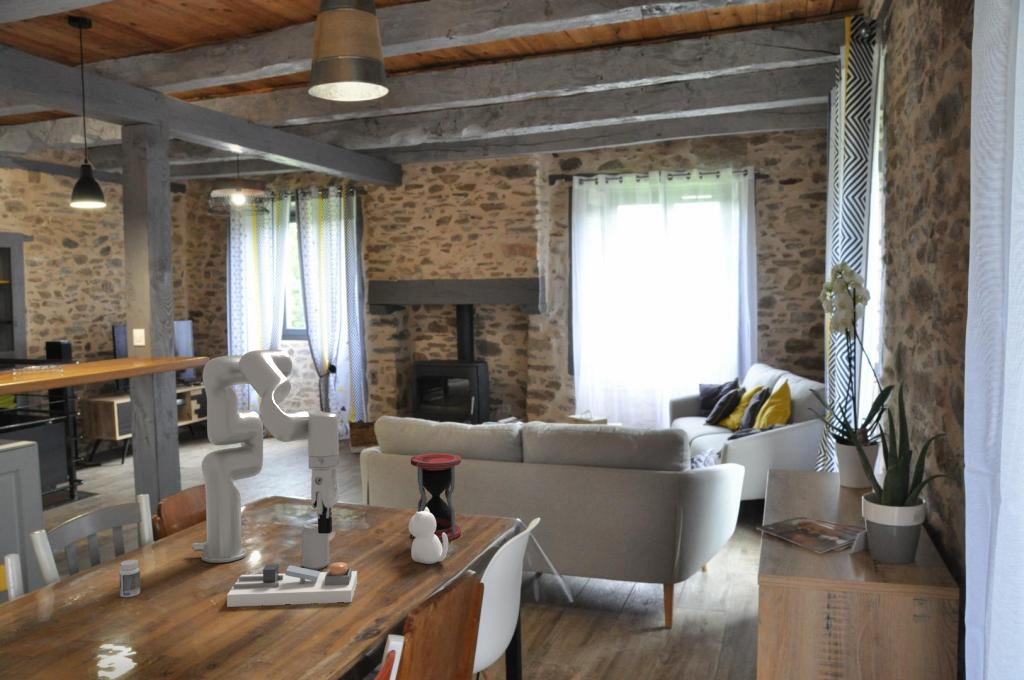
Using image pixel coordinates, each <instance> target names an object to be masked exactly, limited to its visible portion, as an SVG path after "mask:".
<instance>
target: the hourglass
mask: <svg viewBox="0 0 1024 680" xmlns="http://www.w3.org/2000/svg"><path fill="white" fill-rule="evenodd" d="M461 462H462V458H461V456H459V455H457V454H453V453H442V452H441V453H438V452H437V453H436V452H435V453H423V454H418V455H414V456H412V457H411V458H410V465H412V466H413V467H416V468H417V485H418V491H419V494H420V499H419V500H418V502H417V512H421V511H424V510H425V508H426V507H427V508H428V509H429V511H430V513H431V514H433V516H434V517H435V520H436V530H435V532H434V533H433V534H435V535H436V536H437V537H438V538H439V540H440V542H443V539H442V533H445V534H446V535H447V538H448V541H451V540H454V539H453V538H455V539H456V537H457V538H458V536H459V535H461V534H462V528H461V526H460V525H458V524H456V520H455V519H456V510H455V507H454V505H453V501H452V494H453V493H454V491H455V487H456V486H455V485H456V481H455V478H456V477H455V473H456V472H455V471H456V468H455V467H456V466H459V465H460V464H461ZM426 491H427V492H428V493H429V494H430V495H431V498H430V499H429V500H428V499H427V494H426ZM443 492H444V494H445V495H444V496H445V498H446V501H444V499H443V498H441V494H442V493H443ZM427 500H428V501H427ZM446 502H447V503H446ZM460 533H461V534H460ZM410 535H411V537H412V536H413V535H412V534H411V533H410ZM413 537H414V536H413ZM413 537H412V538H413ZM459 537H460V536H459ZM415 538H416V537H414V538H413V539H415ZM450 539H451V540H450Z"/></svg>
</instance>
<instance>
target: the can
mask: <svg viewBox="0 0 1024 680" xmlns="http://www.w3.org/2000/svg"><path fill="white" fill-rule="evenodd" d="M329 563H330V542H329V534H319V533H318V521H312V522H308V523H305V524H304V525H303V529H302V530H301V565H302V566H303V567H304V568H305V569H310V570H315V571H317V570H321V569H324V568H325V567H327V565H329Z"/></svg>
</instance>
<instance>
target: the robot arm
mask: <svg viewBox="0 0 1024 680" xmlns="http://www.w3.org/2000/svg"><path fill="white" fill-rule="evenodd" d="M292 370H293V362H292V358H291V357H290V356H289V354H288V353H287V352H285V351H284V350H282V349H261V350H260V349H258V350H252V351H248V352H246V353H244V354H243V355H241V354H240V355H224V356H218V357H217V356H216V357H214V358H212V359H210V360H208V361H207V362H206V363H205V365H204V367H203V370H202V381H203V387H204V390H205V394H206V401H207V402H206V403H207V404H206V412H207V413H206V427H207V428H206V429H207V438H208V441H209V443H210V444H212V445H215V446H229V445H235V444H240V446H238V447H237V446H236V447H229V448H224V449H223V448H222V449H217V450H214V451H211V452H209V453H206V455H205V456H204V457H203V459H202V462H201V472H202V477H203V480H204V481H203V482H204V488H205V507H206V509H205V510H206V513H205V514H206V515H205V516H206V517H205V518H206V541H204V542H195V543H194V542H192V546H191V547H192V549H191V550H193V552H202V553H201V556H200V557H201V560H202V562H206V563H212V564H223V563H231V562H234V561H239V560H241V559H243V558H245V557H246V556H247V555H248V549H247V548H245V547H243V546H242V499H241V494H240V491H239V489H238V488H237V487H236V485H234V483H233V482H234V481H238V480H242V479H248V478H252V477H255V476H257V475H259V474H260V473H261V472H262V468H263V466H264V427H265V428H266V429H267V431H268V432H269V433H270V434H271V436H272V437H273V438H275V439H276V440H278V441H279V442H283V443H288V442H296V441H300V440H301V441H302V440H307V444H308V445H307V449H308V450H307V451H308V469H310V470H311V476H310V477H311V481H310V482H311V485H310V486H311V487H310V488H311V489H310V499H311V507H312V508H313V509H316V515H317V522H318V533H319V534H329V533H331V532H332V531H333V516H332V515H333V506H335V505H336V504H337V503H338V502H339V501H340V484H339V483H340V482H339V471H338V468H339V467H340V455H339V454H340V451H339V449H340V447H339V446H340V445H339V443H340V442H339V417H338V415H337V414H336V413H333V412H326V411H325V412H324V411H322V410H320V409H314V408H312V409H304V410H303V409H301V410H295V411H288V412H287V411H286V412H284V411H283V410H282V409H281V408H280V407H279V406H278V405H279V404H280V403H281V402H283V401H284V400H285V399H286V398H287V397H288V396H289V394H290V393H291V390H292V384H291V381H290V380H289V379H288V378H287V377H289V376H290V374H291V372H292ZM238 385H239V386H240V385H250V386H251V387H252V389H253V390H254V391H255V393H257V395H258V396H259V397H260V398H261V401H260V405H259V413H260V415H259V413H258V412H256V411H254V410H252V409H244V410H239V398H238V397H239V396H238V394H237V392H236V390H235V389H234V388H233V386H238Z"/></svg>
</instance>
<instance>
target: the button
mask: <svg viewBox="0 0 1024 680" xmlns="http://www.w3.org/2000/svg"><path fill="white" fill-rule="evenodd" d="M347 568H348V564H347V563H346V562H343V561H342V562H339V561H338V562H333V563H331V564H329V569H330V576H346V575H347Z"/></svg>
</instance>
